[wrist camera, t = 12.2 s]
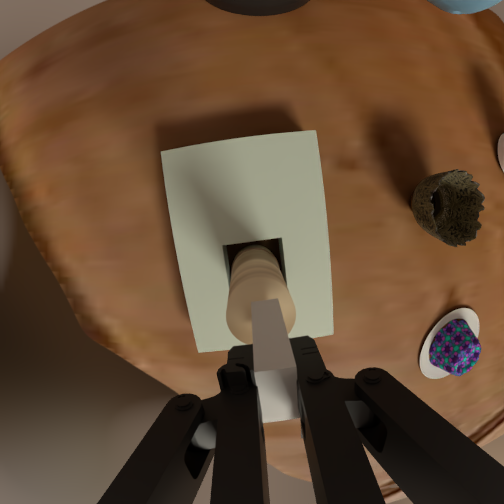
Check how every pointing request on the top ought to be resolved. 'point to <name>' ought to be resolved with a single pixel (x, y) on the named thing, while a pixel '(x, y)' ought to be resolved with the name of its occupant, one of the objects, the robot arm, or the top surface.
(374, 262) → the top surface
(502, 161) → the can
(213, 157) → the board
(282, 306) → the peg
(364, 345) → the top surface
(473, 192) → the cup
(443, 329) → the pudding
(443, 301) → the top surface
